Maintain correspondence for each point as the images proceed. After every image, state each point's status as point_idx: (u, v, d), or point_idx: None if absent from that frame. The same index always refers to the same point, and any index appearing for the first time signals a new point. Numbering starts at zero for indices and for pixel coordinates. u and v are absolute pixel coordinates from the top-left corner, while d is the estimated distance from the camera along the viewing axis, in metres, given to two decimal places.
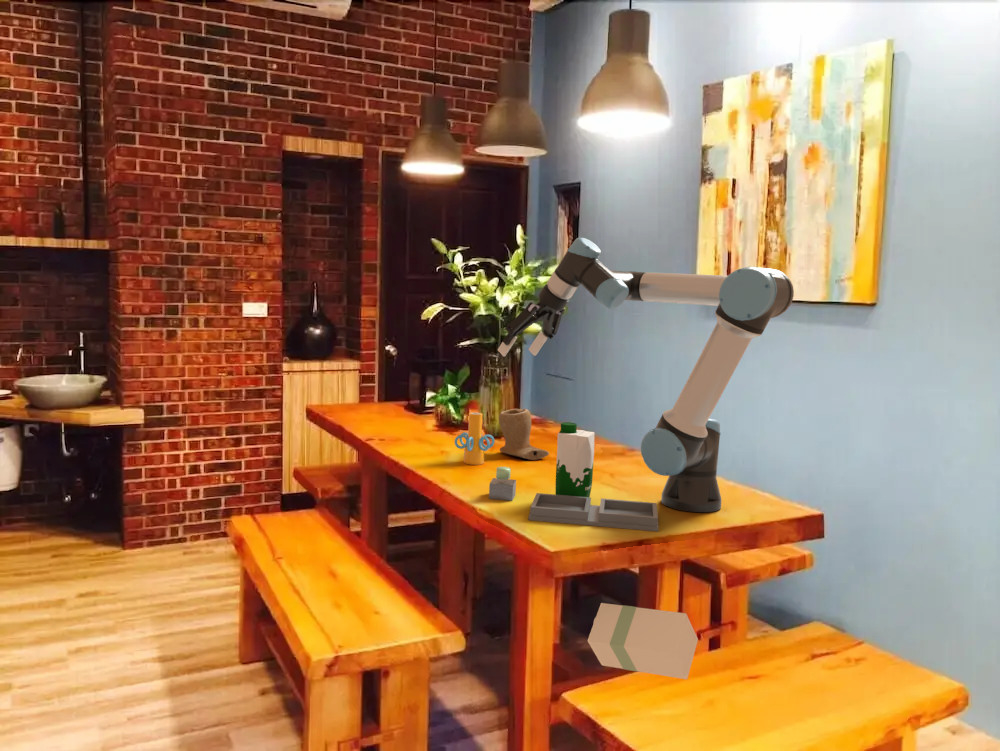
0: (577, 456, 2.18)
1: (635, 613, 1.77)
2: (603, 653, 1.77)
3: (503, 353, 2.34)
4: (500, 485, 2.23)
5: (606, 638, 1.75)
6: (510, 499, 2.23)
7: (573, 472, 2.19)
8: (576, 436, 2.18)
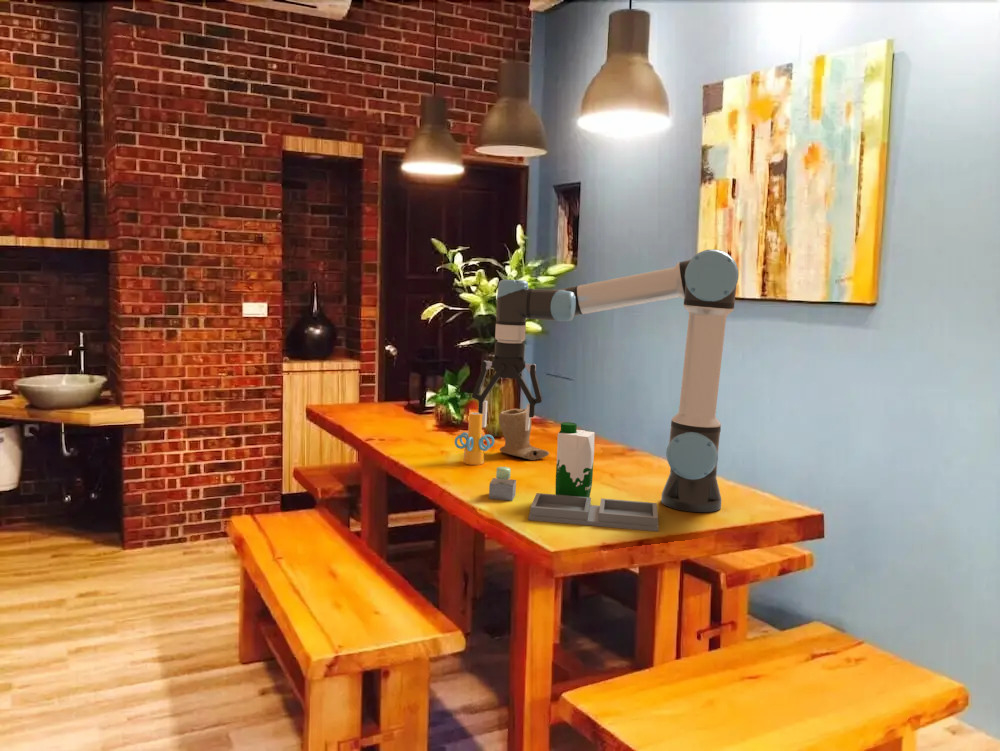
0: (577, 456, 2.18)
1: None
2: None
3: (482, 424, 2.24)
4: (500, 485, 2.23)
5: None
6: (510, 499, 2.23)
7: (573, 472, 2.19)
8: (576, 436, 2.18)
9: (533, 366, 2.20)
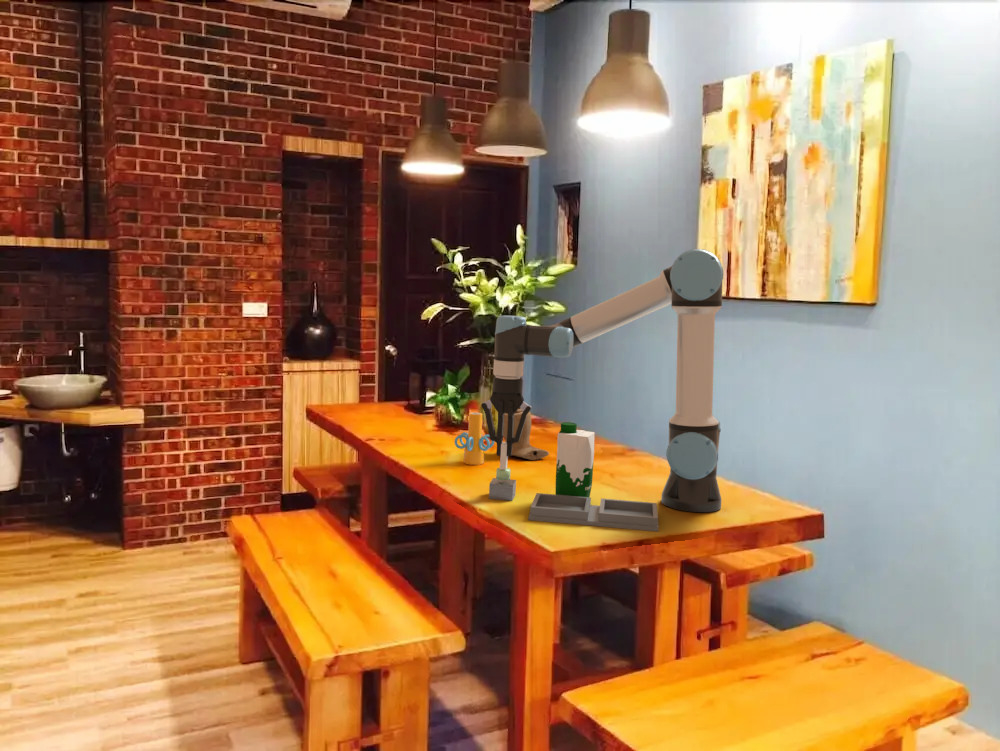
0: (577, 456, 2.18)
1: None
2: None
3: (500, 466, 2.24)
4: (500, 485, 2.23)
5: None
6: (510, 499, 2.23)
7: (573, 472, 2.19)
8: (576, 436, 2.18)
9: (529, 408, 2.21)
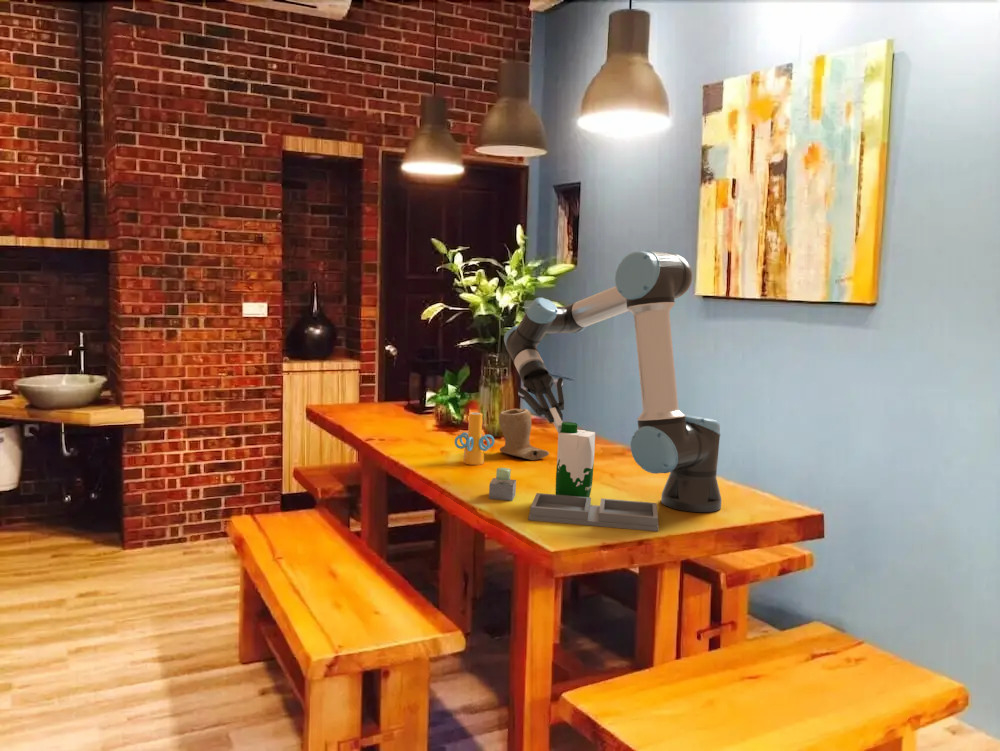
0: (578, 456, 2.18)
1: None
2: None
3: (557, 425, 2.25)
4: (500, 485, 2.23)
5: None
6: (510, 499, 2.23)
7: (574, 472, 2.19)
8: (577, 436, 2.18)
9: (561, 378, 2.37)
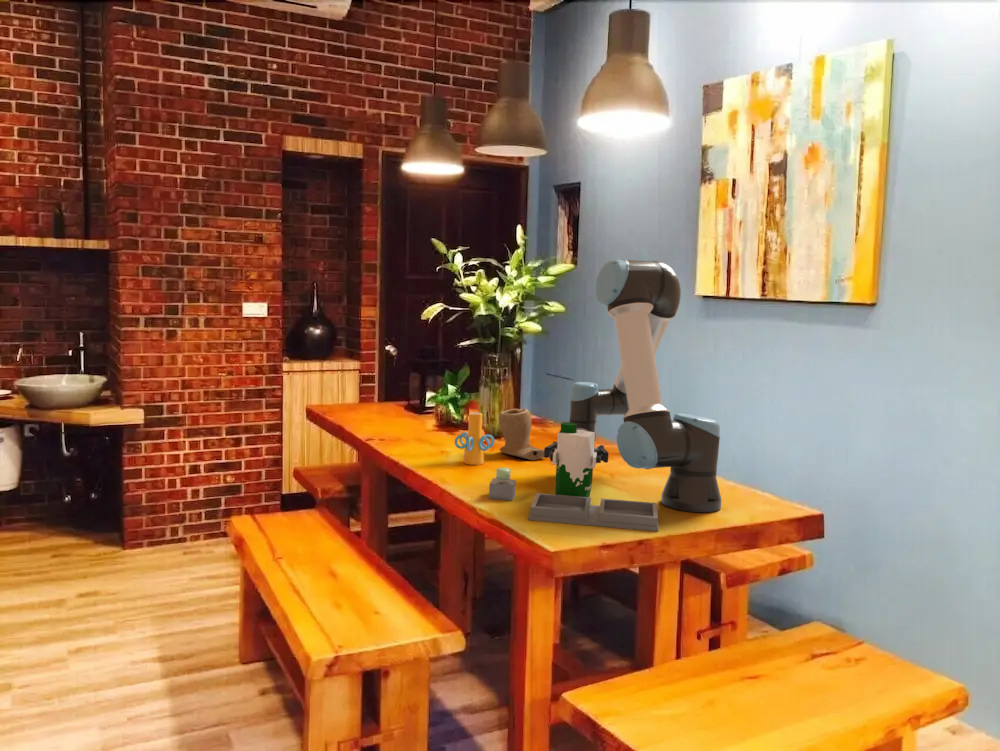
0: (577, 456, 2.18)
1: None
2: None
3: (553, 455, 2.20)
4: (500, 485, 2.23)
5: None
6: (510, 499, 2.23)
7: (573, 472, 2.19)
8: (576, 436, 2.18)
9: (602, 445, 2.34)
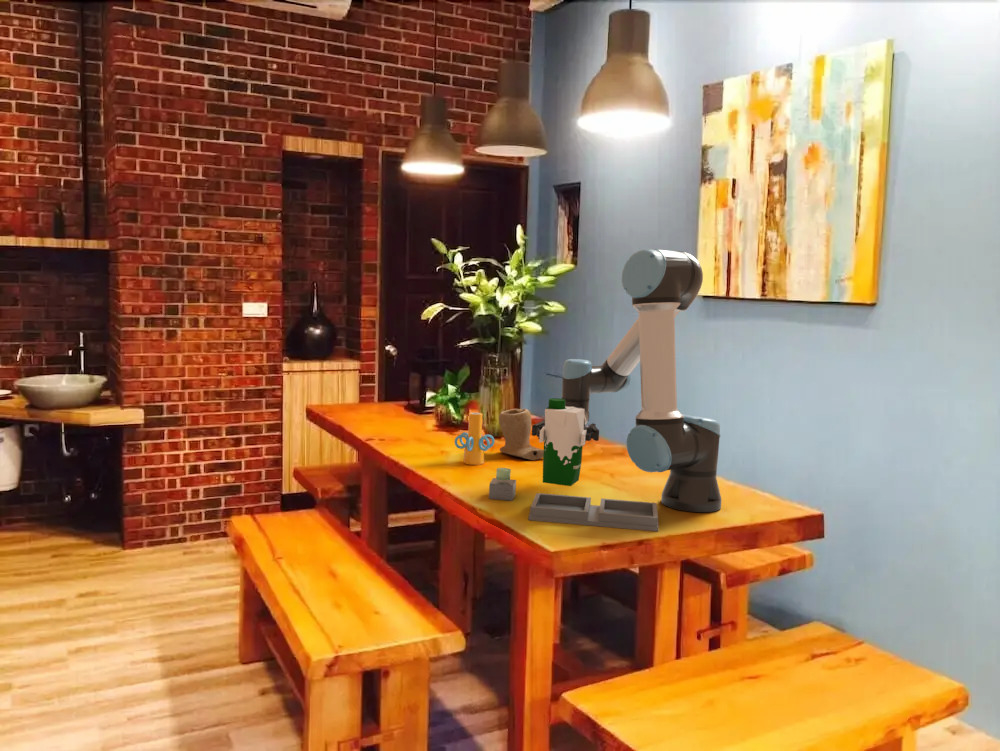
0: (565, 433, 2.08)
1: None
2: None
3: (540, 432, 2.10)
4: (500, 485, 2.23)
5: None
6: (510, 499, 2.23)
7: (561, 449, 2.09)
8: (564, 412, 2.08)
9: None
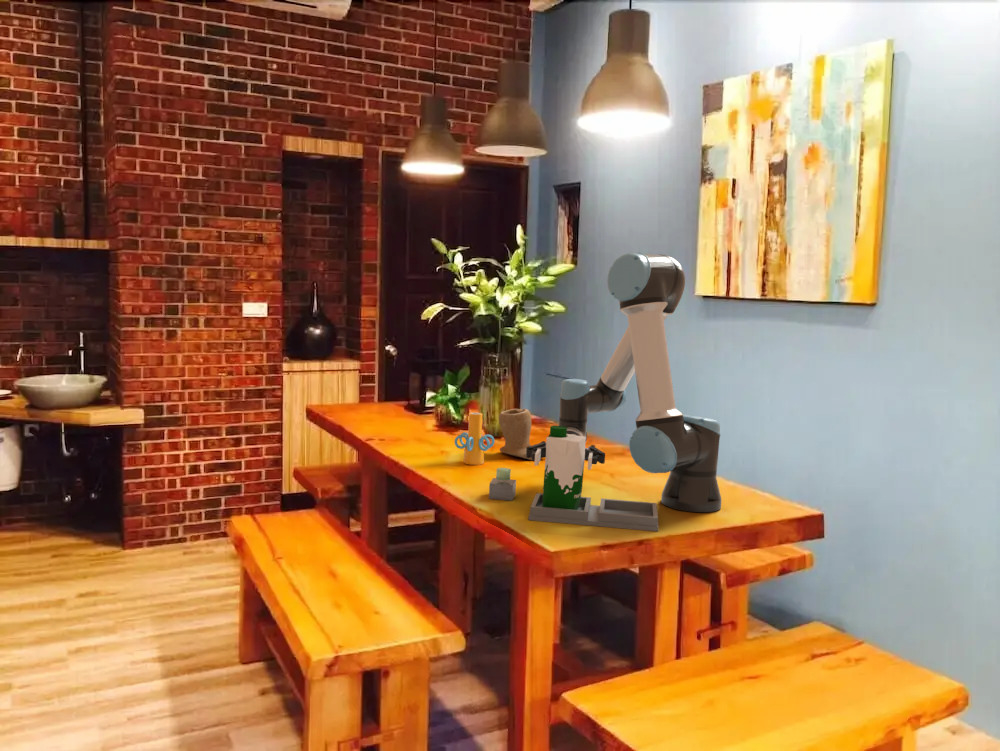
0: (566, 462, 2.06)
1: None
2: None
3: (535, 455, 2.09)
4: (500, 485, 2.23)
5: None
6: (510, 499, 2.23)
7: (562, 478, 2.07)
8: (566, 441, 2.06)
9: (593, 445, 2.22)
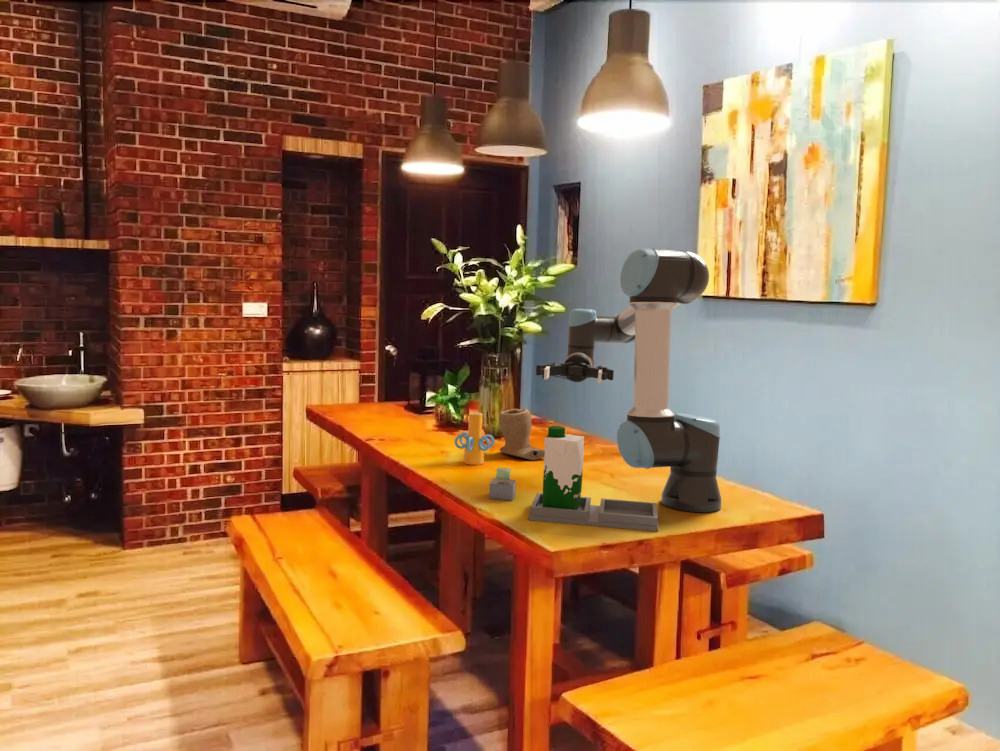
0: (565, 462, 2.06)
1: None
2: None
3: None
4: (500, 485, 2.23)
5: None
6: (510, 499, 2.23)
7: (561, 478, 2.07)
8: (564, 441, 2.06)
9: (600, 366, 2.37)
